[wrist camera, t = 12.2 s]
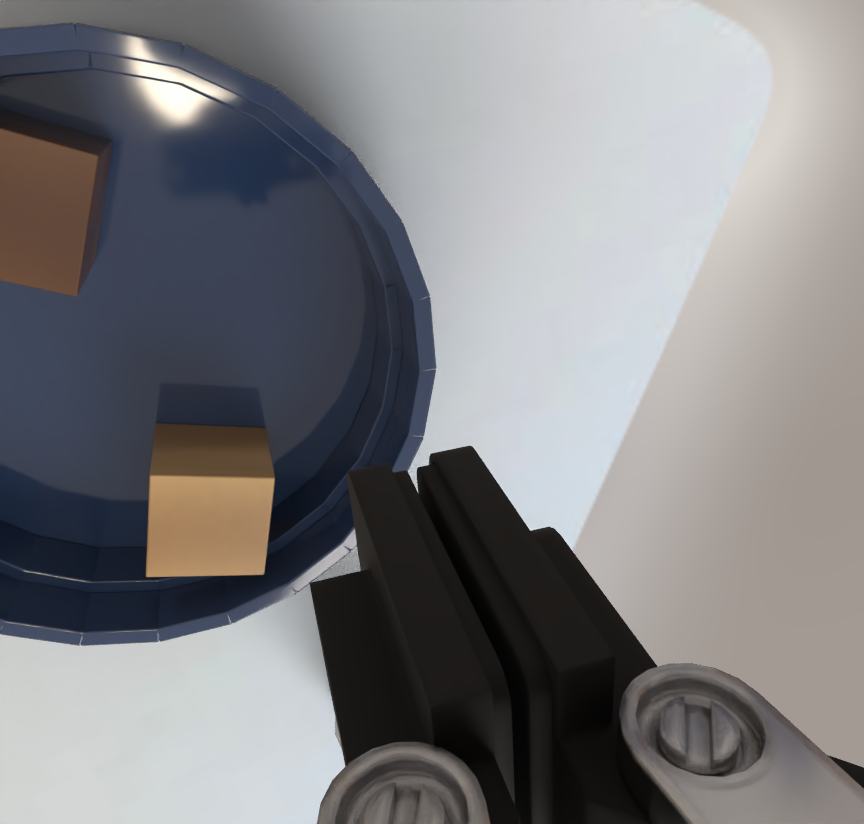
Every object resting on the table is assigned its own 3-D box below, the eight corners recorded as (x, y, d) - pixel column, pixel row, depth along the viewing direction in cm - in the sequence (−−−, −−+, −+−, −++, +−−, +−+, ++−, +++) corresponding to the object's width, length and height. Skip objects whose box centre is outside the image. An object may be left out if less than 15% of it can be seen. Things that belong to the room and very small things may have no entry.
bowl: (-324, 63, 20) (-468, 64, 16) (368, 8, 24) (405, -4, 20) (-59, 610, 29) (-104, 708, 24) (419, 502, 33) (453, 569, 28)
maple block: (155, 422, 27) (149, 475, 24) (266, 427, 29) (275, 477, 25) (151, 515, 29) (145, 578, 25) (257, 516, 30) (264, 575, 27)
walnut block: (-33, 98, 22) (-77, 106, 18) (113, 140, 23) (99, 155, 20) (-46, 231, 23) (-89, 262, 20) (94, 263, 25) (76, 297, 21)
